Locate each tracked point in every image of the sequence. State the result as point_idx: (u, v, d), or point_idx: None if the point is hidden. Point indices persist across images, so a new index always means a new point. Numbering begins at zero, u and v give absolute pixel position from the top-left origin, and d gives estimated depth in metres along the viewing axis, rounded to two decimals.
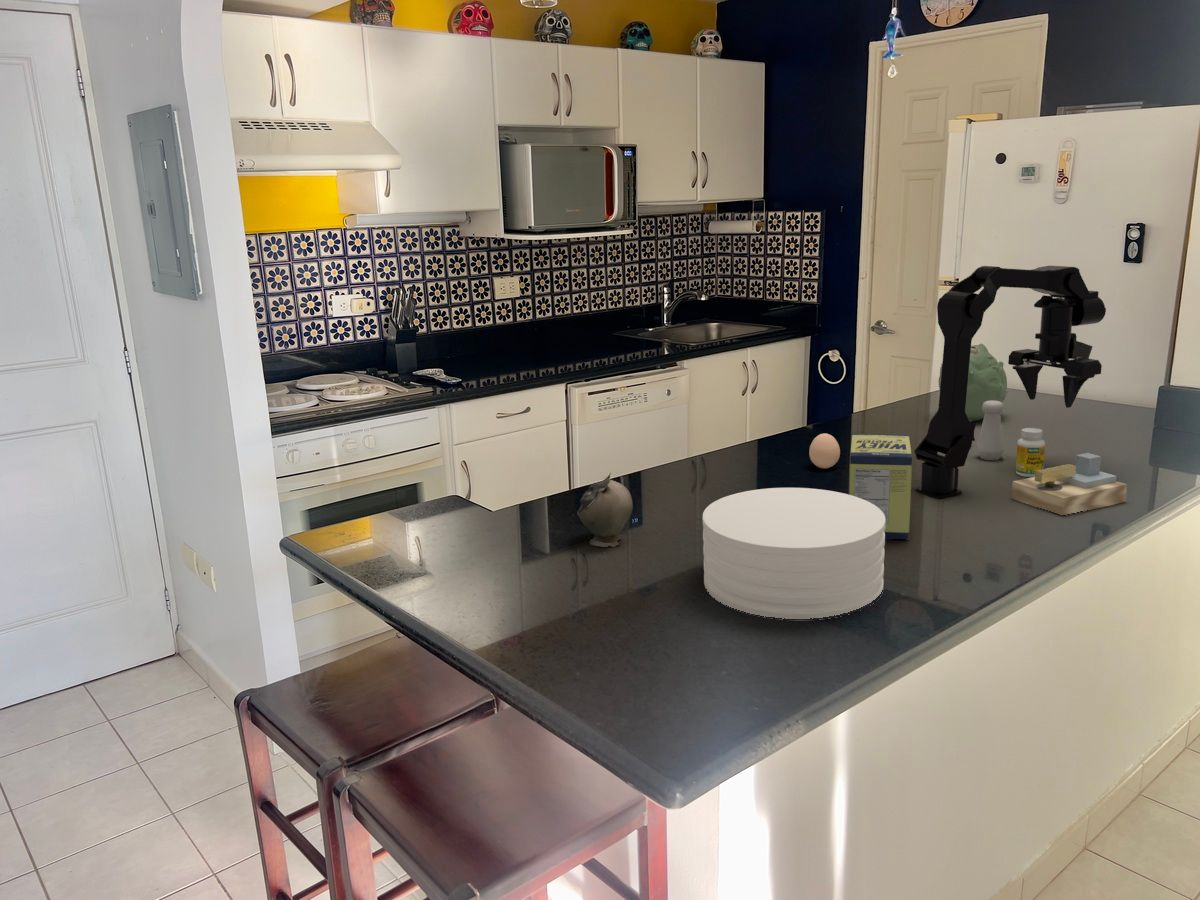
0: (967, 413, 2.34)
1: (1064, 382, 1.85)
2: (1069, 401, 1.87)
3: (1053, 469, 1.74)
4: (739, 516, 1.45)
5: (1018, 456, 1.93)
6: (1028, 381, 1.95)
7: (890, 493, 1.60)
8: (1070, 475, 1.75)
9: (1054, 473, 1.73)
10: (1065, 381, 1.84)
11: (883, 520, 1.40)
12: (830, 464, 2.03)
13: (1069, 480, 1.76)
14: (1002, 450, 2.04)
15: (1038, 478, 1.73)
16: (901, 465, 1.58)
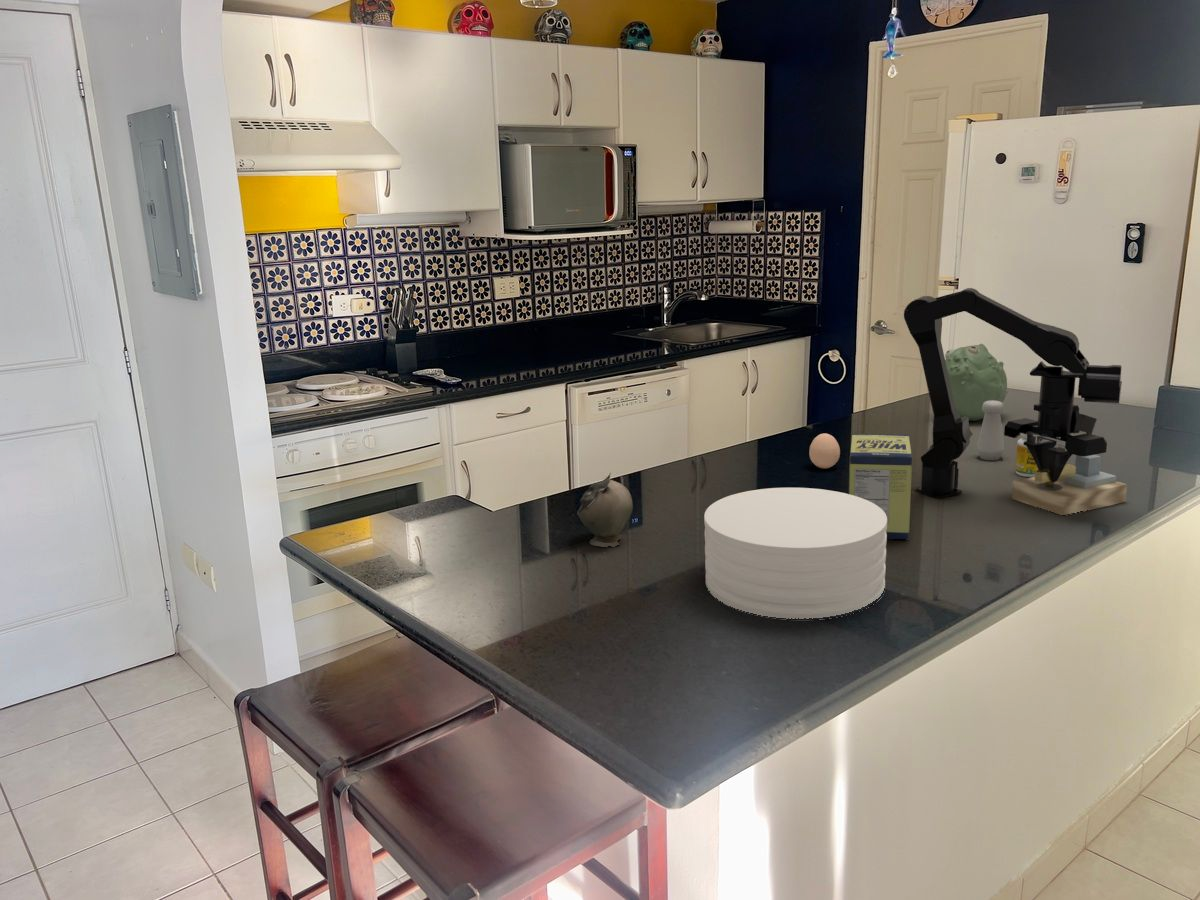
0: (967, 413, 2.34)
1: (1049, 456, 1.70)
2: (1055, 475, 1.72)
3: None
4: (741, 516, 1.45)
5: (1018, 456, 1.93)
6: (1041, 459, 1.74)
7: (890, 493, 1.60)
8: (1070, 475, 1.75)
9: None
10: (1050, 455, 1.70)
11: (885, 520, 1.40)
12: (830, 464, 2.03)
13: (1069, 480, 1.76)
14: (1002, 450, 2.04)
15: (1038, 478, 1.73)
16: (901, 465, 1.58)
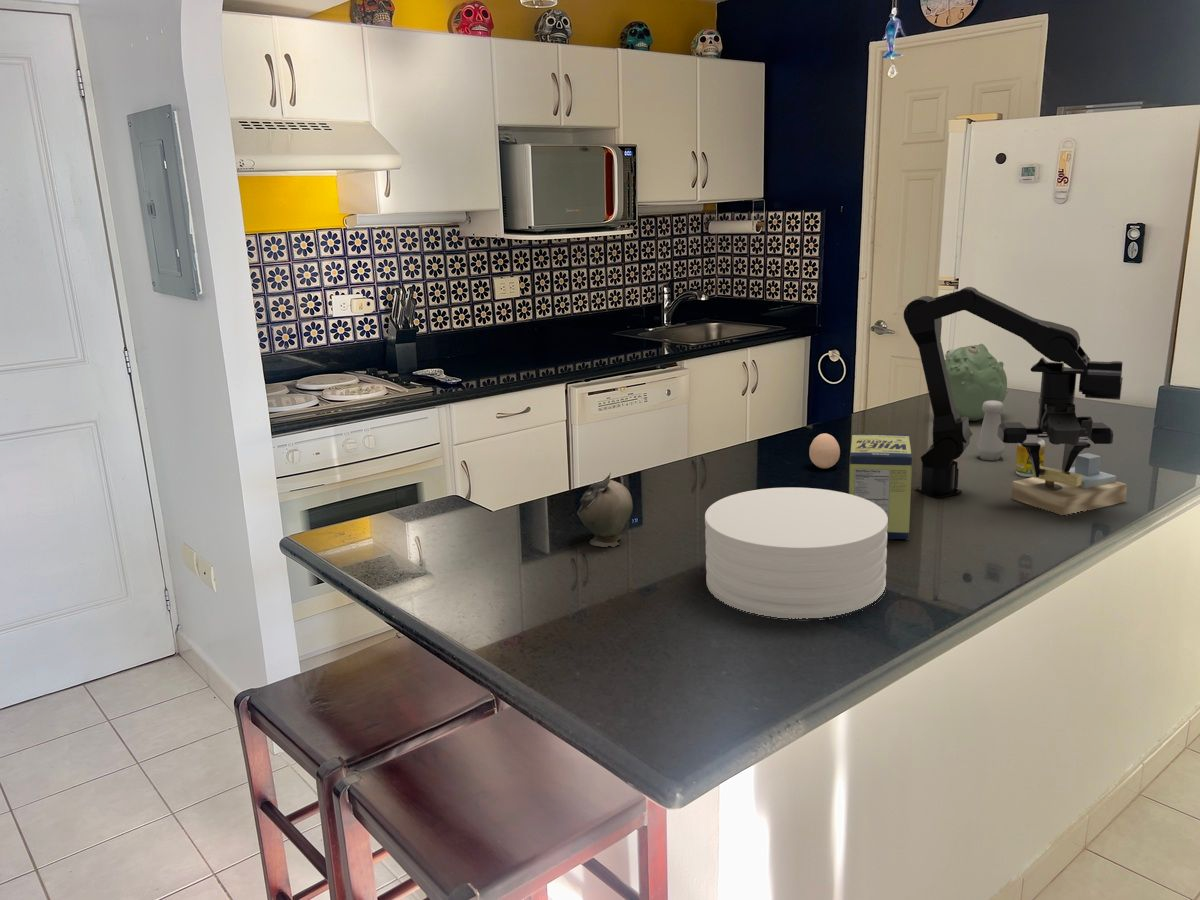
0: (967, 413, 2.34)
1: None
2: (1033, 468, 1.75)
3: (1051, 470, 1.73)
4: (742, 516, 1.45)
5: (1018, 456, 1.93)
6: (1064, 454, 1.74)
7: (890, 493, 1.60)
8: (1070, 483, 1.70)
9: (1050, 474, 1.73)
10: None
11: (885, 520, 1.40)
12: (830, 464, 2.03)
13: None
14: (1002, 450, 2.04)
15: None
16: (901, 465, 1.58)
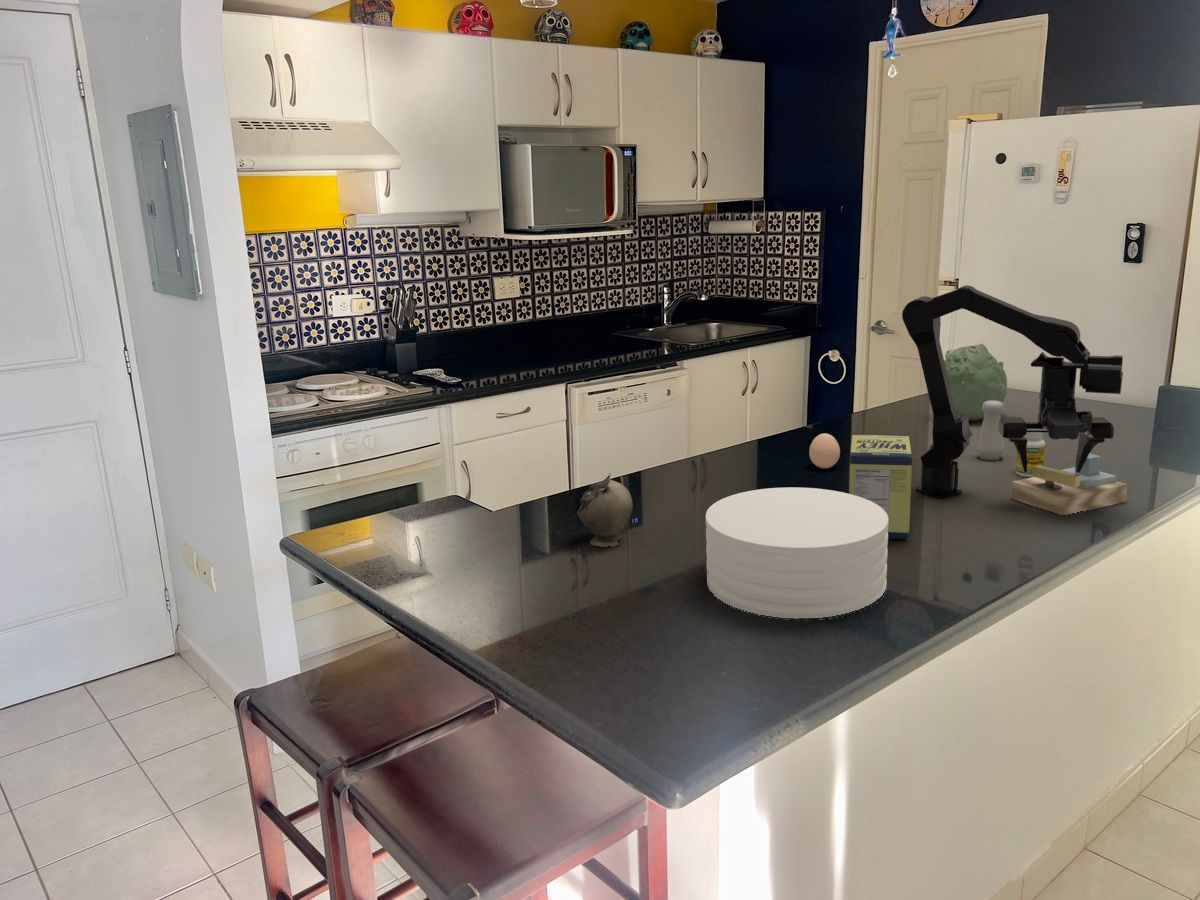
0: (967, 413, 2.34)
1: None
2: (1021, 463, 1.75)
3: (1051, 470, 1.73)
4: (742, 516, 1.45)
5: (1018, 456, 1.93)
6: (1078, 449, 1.73)
7: (890, 493, 1.60)
8: (1068, 484, 1.70)
9: (1049, 474, 1.73)
10: None
11: (886, 520, 1.40)
12: (830, 464, 2.03)
13: None
14: (1002, 450, 2.04)
15: None
16: (901, 465, 1.58)
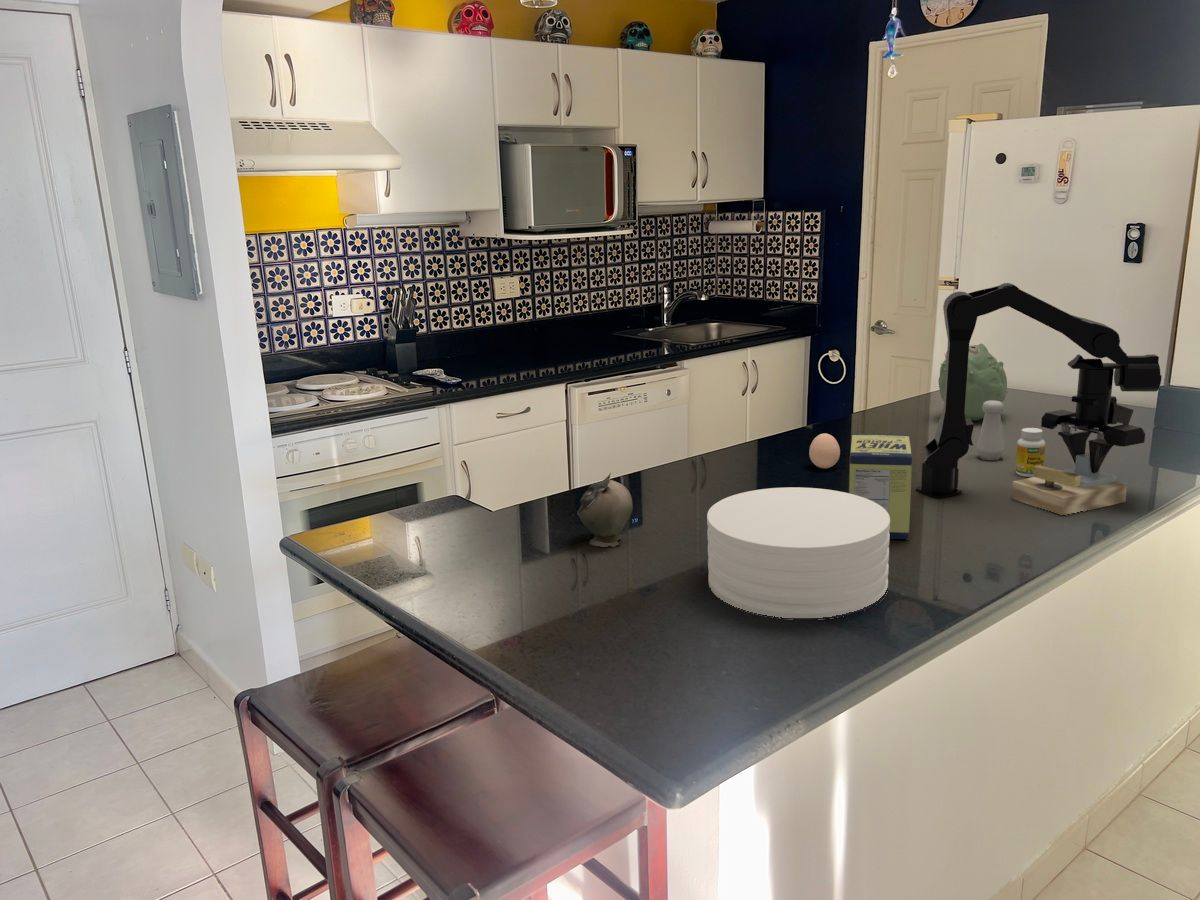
0: (967, 413, 2.34)
1: (1090, 447, 1.73)
2: (1095, 466, 1.75)
3: (1051, 470, 1.73)
4: (744, 516, 1.45)
5: (1018, 456, 1.93)
6: (1075, 449, 1.78)
7: (890, 493, 1.60)
8: (1068, 484, 1.70)
9: (1049, 474, 1.73)
10: (1091, 446, 1.73)
11: (888, 520, 1.40)
12: (830, 464, 2.03)
13: None
14: (1002, 450, 2.04)
15: None
16: (901, 465, 1.58)
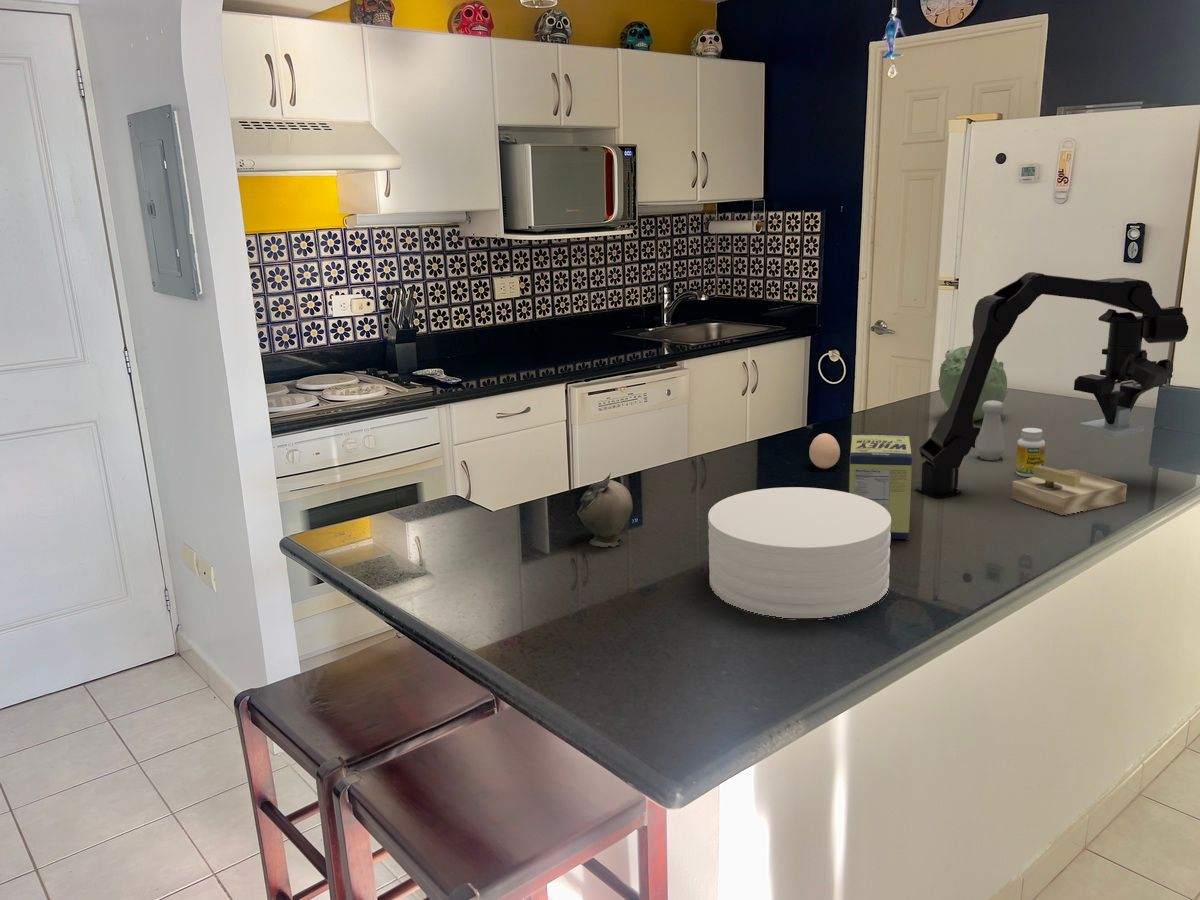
0: None
1: None
2: (1106, 416, 1.81)
3: (1051, 470, 1.73)
4: (745, 516, 1.45)
5: (1018, 456, 1.93)
6: (1119, 400, 1.83)
7: (890, 493, 1.60)
8: (1068, 484, 1.70)
9: (1049, 474, 1.73)
10: None
11: (889, 520, 1.40)
12: (830, 464, 2.03)
13: None
14: (1002, 450, 2.04)
15: None
16: (901, 465, 1.58)
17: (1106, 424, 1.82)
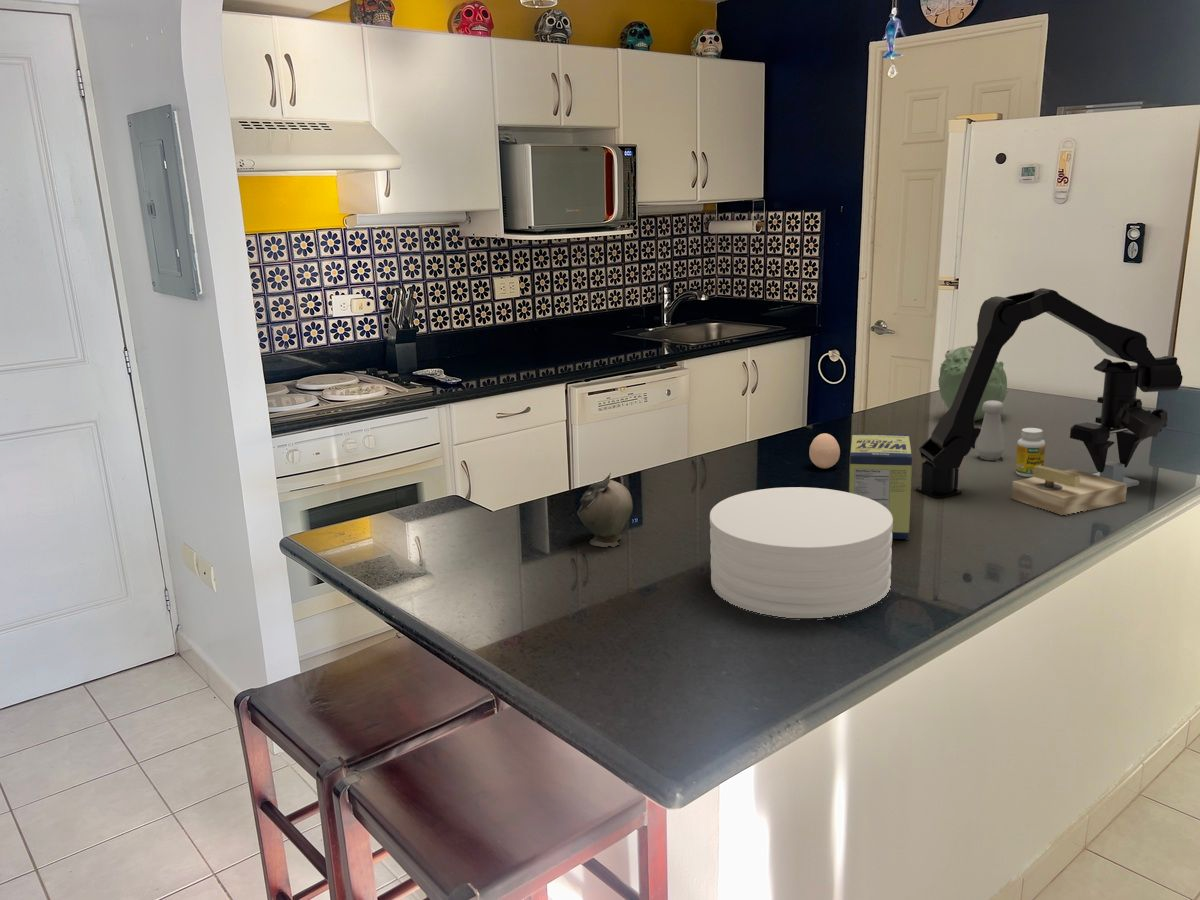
0: None
1: None
2: (1096, 465, 1.83)
3: (1051, 470, 1.73)
4: (746, 516, 1.45)
5: (1018, 456, 1.93)
6: (1120, 446, 1.86)
7: (890, 493, 1.60)
8: (1068, 484, 1.70)
9: (1049, 474, 1.73)
10: None
11: (890, 519, 1.40)
12: (830, 464, 2.03)
13: None
14: (1002, 450, 2.04)
15: None
16: (901, 465, 1.58)
17: None
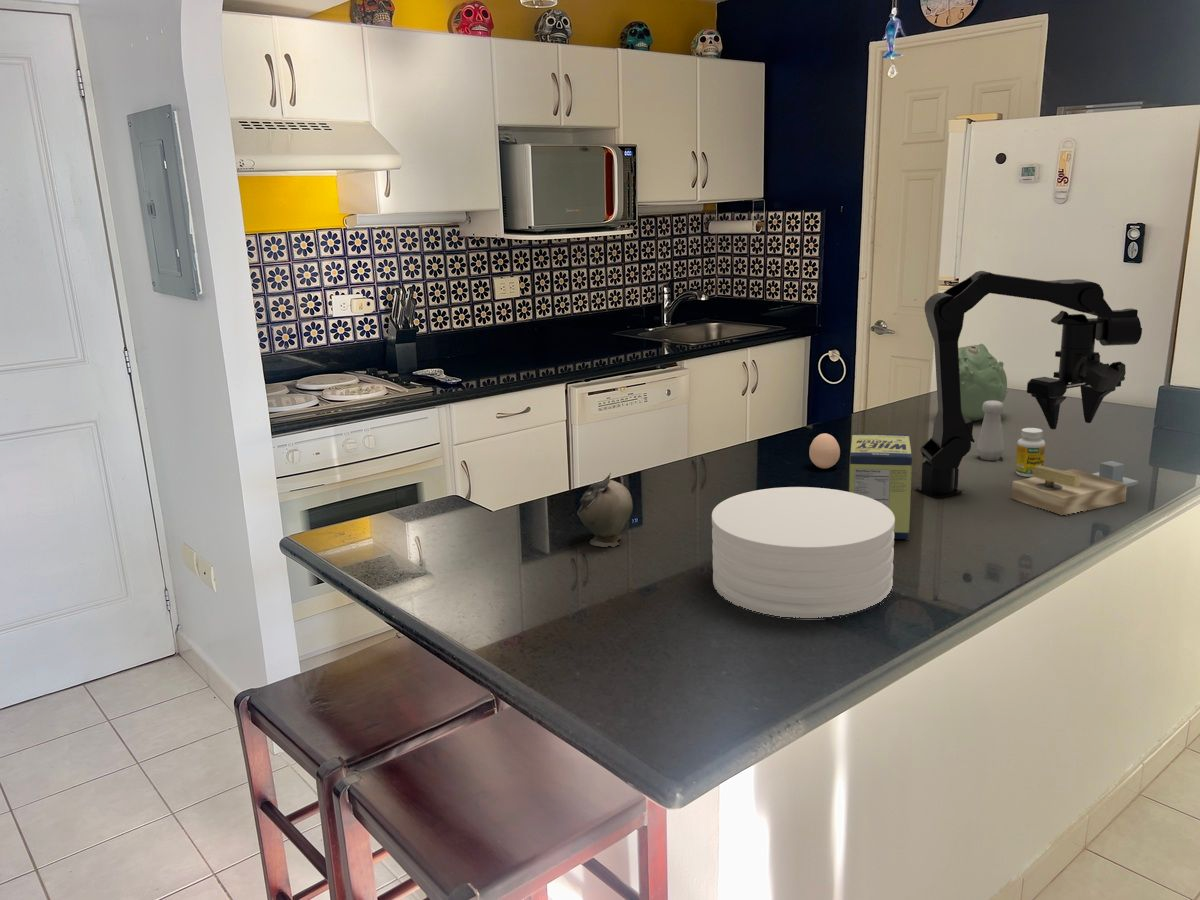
0: (967, 413, 2.34)
1: None
2: (1049, 421, 1.78)
3: (1051, 470, 1.73)
4: (748, 516, 1.45)
5: (1018, 456, 1.93)
6: (1084, 401, 1.82)
7: (890, 493, 1.60)
8: (1068, 484, 1.70)
9: (1049, 474, 1.73)
10: None
11: (892, 519, 1.40)
12: (830, 464, 2.03)
13: None
14: (1002, 450, 2.04)
15: None
16: (901, 465, 1.58)
17: None
